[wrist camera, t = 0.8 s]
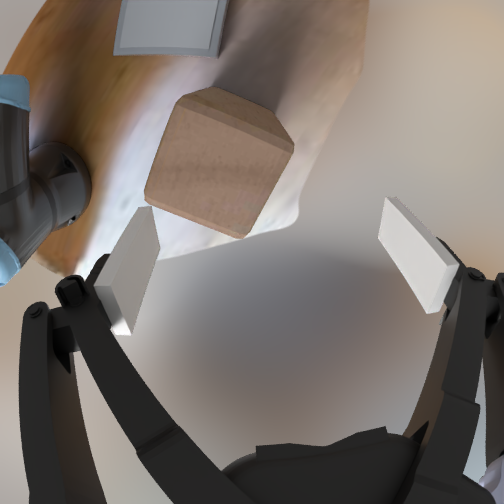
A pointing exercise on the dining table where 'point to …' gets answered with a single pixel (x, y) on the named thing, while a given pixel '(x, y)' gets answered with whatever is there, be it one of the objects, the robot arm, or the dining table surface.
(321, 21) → the dining table surface
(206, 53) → the slate tray
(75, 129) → the dining table surface
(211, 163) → the wooden block
